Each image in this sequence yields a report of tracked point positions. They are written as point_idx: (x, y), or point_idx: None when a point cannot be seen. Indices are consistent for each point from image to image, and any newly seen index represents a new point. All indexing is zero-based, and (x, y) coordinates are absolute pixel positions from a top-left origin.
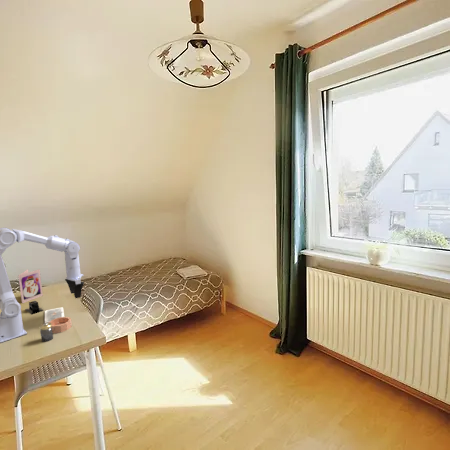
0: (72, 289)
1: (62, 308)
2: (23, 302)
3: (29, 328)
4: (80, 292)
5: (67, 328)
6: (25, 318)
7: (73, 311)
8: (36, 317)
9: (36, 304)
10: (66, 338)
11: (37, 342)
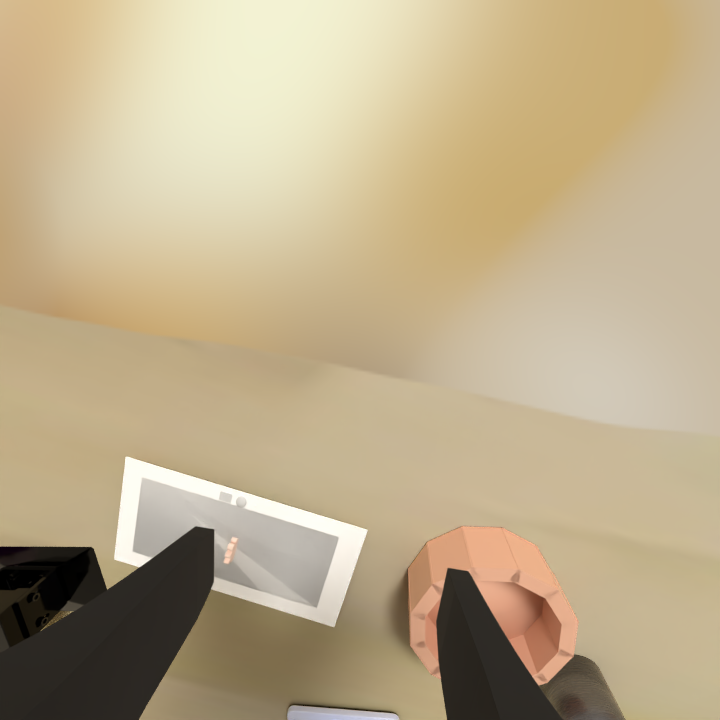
0: (176, 624)
1: (152, 469)
2: None
3: (326, 681)
4: (509, 653)
5: (555, 578)
6: None
7: (254, 424)
8: None
9: (16, 613)
10: (671, 618)
11: None
